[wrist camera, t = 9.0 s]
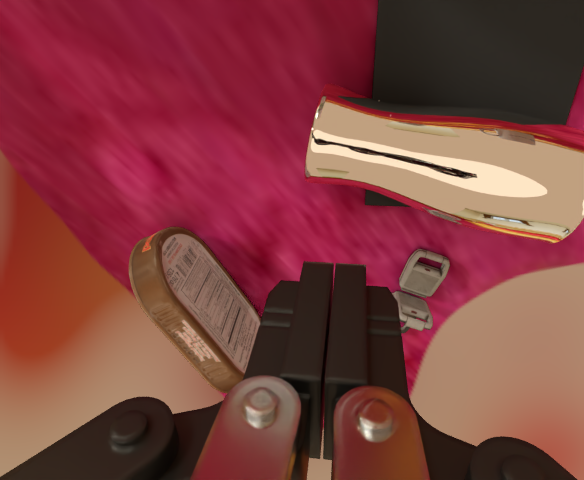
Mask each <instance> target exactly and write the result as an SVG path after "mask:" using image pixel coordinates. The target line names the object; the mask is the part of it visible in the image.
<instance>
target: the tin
mask: <svg viewBox="0 0 584 480" xmlns="http://www.w3.org/2000/svg"><path fill="white" fill-rule="evenodd" d="M129 277H130V282H131V286H132V289H133V292H134V294H135V297H136V299H137V301H138V303H139V305H140V306H141V308H142V309H143V311H144V312H145V314H146V315H147V316H148V317H149V318H150V320H151V321H152V322H153V323H154V324H155V325H156V326H157V327H158V328H159V329H160V331H161V332H162V333H163V334H164V335H165V336H166V337H167V338H168V339H169V340H170V342H172V344H173V345H174V346H175V347H176V348H177V349H178V350H179V351H180V352H181V354H182V355H183V356H184V357H185V358H186V359H187V360H188V362H190V364H191V365H192V366H193V367H194V368H195V369H196V371H197V372H198V373H199V374H200V375H201V376H202V377H203V379H204V380H205V381H206V382H207V383H208V384H209V385H210V386H211V387H213V388H214V389H216V390H218V391H220V392H223V393H228V392H229V391H230V390H231V389H232V388H233V387H234V386H235V385H237V384H238V383H239V382H241V381H242V380H243V377H244V374H245V371H246V368H247V364H248V361H249V358H250V354H251V351H252V348H253V344H254V341H255V338H256V334H257V331H258V328H259V325H260V321H261V319H260V317H259V315H258V313H257V311H256V310H255V308H254V307H253V305H252V304H251V303H250V301H249V300H248V299H247V297H246V296H245V295H244V293H243V292H242V291H241V290H240V288H239V287H238V286H237V284H236V283H235V282H234V280H233V279H232V278H231V276H230V275H229V274H228V272H227V271H226V270H225V268H224V267H223V266H222V265H221V263H220V262H219V261H218V259H217V258H216V257H215V255H214V254H213V253H212V251H211V250H210V249H209V248H208V246H207V245H206V244H205V243H204V242H203V241H202V240H201V239H200V238H199V237H198V236H197V235H195V234H194V233H192V232H191V231H189V230H187V229H184V228H181V227H169V228H165V229H163V230H161V231H159V232H157V233H155V234H154V235H152V236H149V237H145V238H143V239H141V240H140V241H139V242H138V243H137V244H136V245H135V246H134V248H133V250H132V252H131V255H130V260H129Z"/></svg>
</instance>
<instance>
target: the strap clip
mask: <svg viewBox="0 0 584 480" xmlns="http://www.w3.org/2000/svg"><path fill="white" fill-rule="evenodd" d="M420 257H425V258H428V259H431V260H434V261H437V262H440V263H442V266H441V268H440V269H438V268H435V267H432V266H429V265H426V264H423V263H420V262H417V260H418V259H419V258H420ZM449 266H450V263H449V260H448V258H446V257H444V256H442V255H439V254H436V253H433V252H430V251H427V250H423V249H418V250H416V251H415V252H414V253H413V254H412V255H411V256H410V257H409V259H408V261H407V263H406V265H405V268H404V270H403V272H402V274H401V276H400V278H399V283H400V287H401V290H403V291H406V292H409V293H412V294H415V295H418V296H421V297H424V298H426V296H429V297H430V296H432V295H433V293H434V292H435V290H436V289H437V288H438V286H439V285H440V284H441V282H442V281H443V280H444V278H445V277H446V275H447V272H448V269H449ZM392 294H393V296H394V297H395V299H396V300H397V301H398V307H399V316H400V321H401V322H404V323H405V325H404V327H401V333H405V332H407V331H408V329H409V328H410V327H411V328H414V329H417V330H420V331H422V330H423V328H425V329H428V330H430V329H431V327H432V326H433V317H432V315H431V312H430V310H429V308H428V305H427V303H426V301H424V300H422V299H421V298H418V297H415V296H412V295H409V294H406V293H403V292H400V291H396V292H395V293H392ZM416 317H417V318H420V319H423V320H426V321H427V322H423V321H420V320H417V319H416Z"/></svg>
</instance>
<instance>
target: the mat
mask: <svg viewBox="0 0 584 480" xmlns="http://www.w3.org/2000/svg"><path fill="white" fill-rule="evenodd" d="M583 66H584V0H378V15H377V30H376V45H375V61H374V76H373V91H372V99H374V100H378V101H382V102H388V103H395V104H404V105H429V106H464V107H478V108H491V109H498V110H503V111H509V112H515V113H520V114H525V115H529V116H533V117H537V118H541V119H545V120H549V121H552V122H556V123H559V124H562V125H566V121H567V118H568V115H569V112H570V108H571V105H572V102H573V99H574V95H575V92H576V89H577V86H578V82H579V79H580V76H581V73H582V69H583ZM365 205H379V206H404V207H411V206H409V205H406V204H404V203H402V202H399V201H397V200H395V199H392V198H390V197H387V196H385V195H382V194H379V193H377V192H374V191H370V190H367V189H366V197H365Z"/></svg>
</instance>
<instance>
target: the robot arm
mask: <svg viewBox="0 0 584 480" xmlns="http://www.w3.org/2000/svg"><path fill="white" fill-rule="evenodd" d="M333 270H334V264H333V263H323V262H306V261H304V263H303V267H302V272H301V276H300V281H299V282H298V281H282V280H281V281H280V282H279V283H278V284H277V285H276V286H275V287H274V288H273V290H272V291H271V292H270V293H269V294H268V298H267V301H266V304H265V308H264V312H263V314H262V318H261V321H260V325H259V328H258V331H257V334H256V338H255V341H254V344H253V348H252V351H251V354H250V358H249V361H248V364H247V368H246V371H245V374H244V377H243V380H242V381H241V382H239V383H238V384H237V385H235V386H234V387H233V388H232V389H231V390H230V391H229V392H228V393H227V395H226V396H225V398H224V400H223V401H221V402H219V403H218V404H215V405H213V406H210V407H206V408H202V409H197V410H192V411H187V412H182V413H177V414H172V412H171V410H170V408H169V407H168V406H167V405H166V404H165V403H164V402H162V401H161V400H159V399H156V398H152V397H136V398H132V399H128V400H125V401H123V402H120V403H118V404H116V405H114V406H113V407H111V408H110V409H108V410H106V411H105V412H103V413H102V414H100V415H99V416H97V417H95V418H94V419H92V420H90V421H89V422H87V423H86V424H84V425H82V426H81V427H79V428H78V429H76V430H74V431H73V432H71V433H70V434H68V435H67V436H65V437H63V438H62V439H60V440H59V441H57V442H55V443H54V444H52V445H51V446H49V447H47V448H46V449H44V450H43V451H41V452H40V453H38V454H36V455H35V456H33V457H31V458H30V459H28V460H27V461H25V462H24V463H22V464H20V465H19V466H17V467H16V468H14V469H13V470H11V471H9V472H8V473H6V474H4V475H3V476H1V477H0V480H307V471H308V461H309V458H317V459H320V453H321V441H322V430H323V419H324V451H323V458H324V459H328V460H332V472H331V480H577V479H576V478H575V477H574V476H573V475H571V474H570V473H569V472H568V471H567V470H566V469H564V468H563V467H562V466H561V465H560V464H558V463H557V462H556V461H555V460H554V459H553V458H551V457H550V456H549V455H548V454H547V453H545V452H544V451H542V450H541V449H539V448H537V447H536V446H534V445H532V444H530V443H528V442H526V441H523V440H520V439H516V438H512V437H493V438H490V439H487V440H485V441H483V442H482V443H480V444H479V445H478V446H477V447H476V446H474V445H472V444H469V443H467V442H464V441H462V440H459V439H456V438H454V437H452V436H449V435H447V434H445V433H442V432H440V431H439V430H437V429H436V428H434V427H432V426H431V425H430V424H428V423H427V422H426V421H425V420H424V419H423V418H422V417H421V416H420V415H419V414H418V413H417V411H416V410H415V408H414V407H413V405H412V403H411V401H410V398H409V394H408V388H407V379H406V370H405V361H404V352H403V343H402V336H401V325H400V316H399V307H398V301H397V300H396V299H395V297H394V296H393V294H392V293H391V292H390V290H389V289H388V287H378V286H366V265H360V264H343V263H336V267H335V278H334V288H333Z"/></svg>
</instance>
